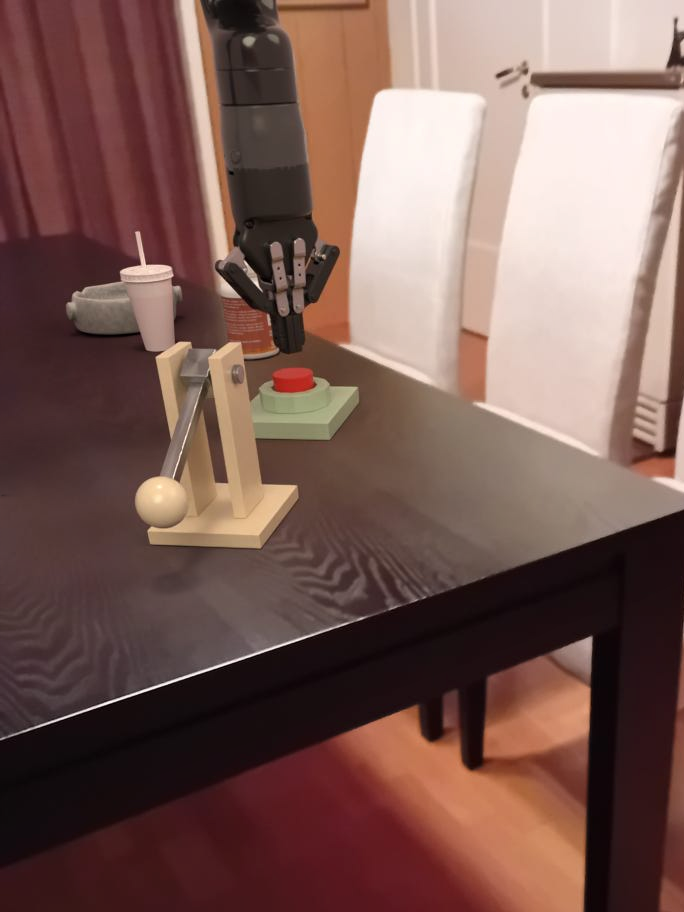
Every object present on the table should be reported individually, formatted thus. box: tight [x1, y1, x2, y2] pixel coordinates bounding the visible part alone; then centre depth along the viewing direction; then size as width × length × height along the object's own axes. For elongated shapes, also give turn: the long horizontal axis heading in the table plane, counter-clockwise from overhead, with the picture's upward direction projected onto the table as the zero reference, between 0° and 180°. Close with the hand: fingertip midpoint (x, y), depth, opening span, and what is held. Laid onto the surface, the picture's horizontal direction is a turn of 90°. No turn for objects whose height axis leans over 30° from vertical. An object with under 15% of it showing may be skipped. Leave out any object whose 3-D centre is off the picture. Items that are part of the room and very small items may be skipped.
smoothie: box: [119, 230, 176, 352], centre depth 127 cm, size 6×6×14 cm
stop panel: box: [250, 376, 360, 441], centre depth 103 cm, size 12×10×4 cm
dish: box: [65, 280, 183, 336], centre depth 140 cm, size 14×14×5 cm
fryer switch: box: [146, 341, 300, 549], centre depth 78 cm, size 10×9×14 cm
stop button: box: [272, 366, 314, 393], centre depth 102 cm, size 4×4×2 cm
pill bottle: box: [219, 260, 280, 360], centre depth 123 cm, size 6×6×11 cm
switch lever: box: [134, 348, 218, 529], centre depth 73 cm, size 15×4×4 cm, turn 172°
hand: (290, 351), depth 100 cm, fingers closed
